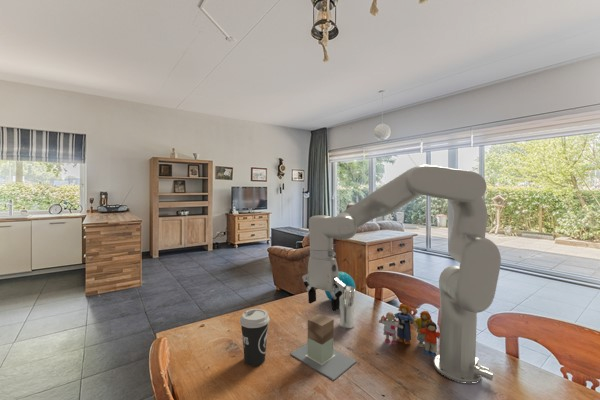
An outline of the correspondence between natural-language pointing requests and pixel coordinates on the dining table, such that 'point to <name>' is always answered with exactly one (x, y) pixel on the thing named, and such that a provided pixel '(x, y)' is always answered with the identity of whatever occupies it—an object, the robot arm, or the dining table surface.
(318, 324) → the walnut block
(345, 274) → the decorative orb
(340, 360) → the felt mat
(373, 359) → the dining table surface
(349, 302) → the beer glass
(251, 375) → the dining table surface
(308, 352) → the sage block
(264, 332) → the coffee cup
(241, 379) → the dining table surface
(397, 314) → the doll family
